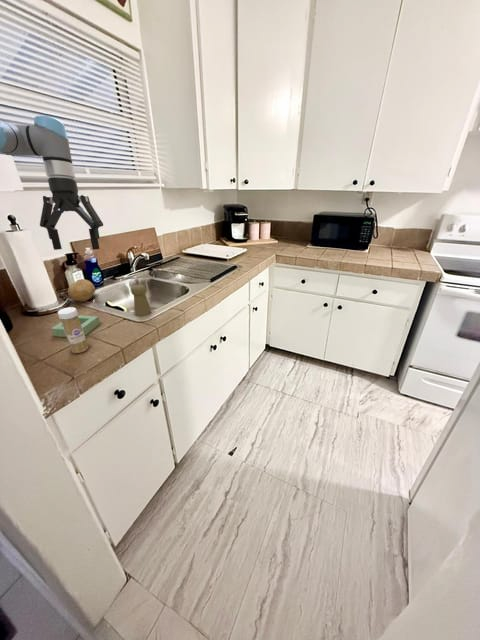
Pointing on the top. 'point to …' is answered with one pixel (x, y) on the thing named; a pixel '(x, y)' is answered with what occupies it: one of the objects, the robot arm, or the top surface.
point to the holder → (86, 323)
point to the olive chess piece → (140, 300)
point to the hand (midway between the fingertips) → (76, 249)
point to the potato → (81, 290)
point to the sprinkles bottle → (73, 329)
